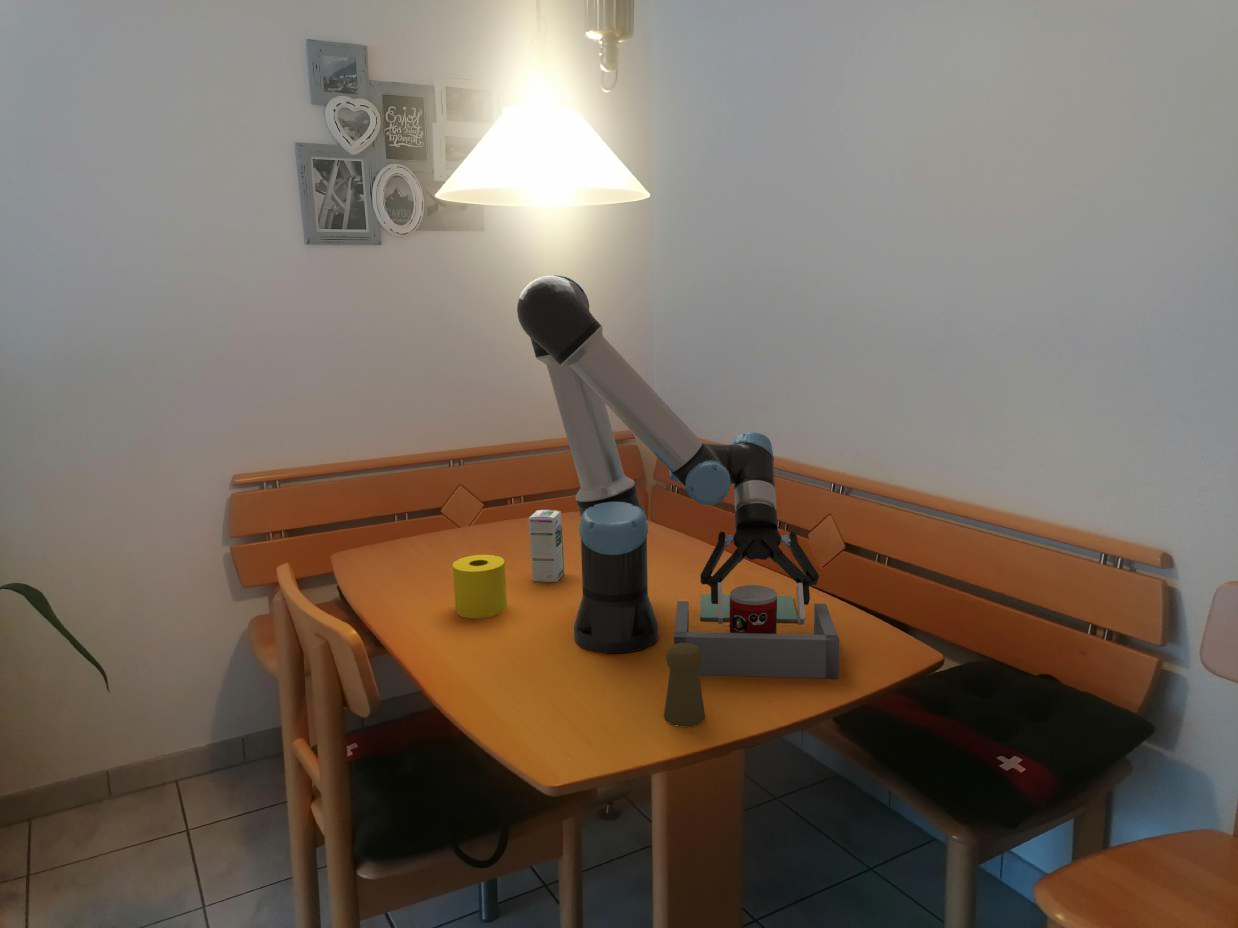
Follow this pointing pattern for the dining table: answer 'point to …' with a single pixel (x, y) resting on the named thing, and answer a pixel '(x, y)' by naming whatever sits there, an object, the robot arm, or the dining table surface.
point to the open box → (765, 649)
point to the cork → (684, 686)
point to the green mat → (710, 610)
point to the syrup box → (546, 545)
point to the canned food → (753, 610)
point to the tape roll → (479, 586)
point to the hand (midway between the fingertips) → (761, 621)
